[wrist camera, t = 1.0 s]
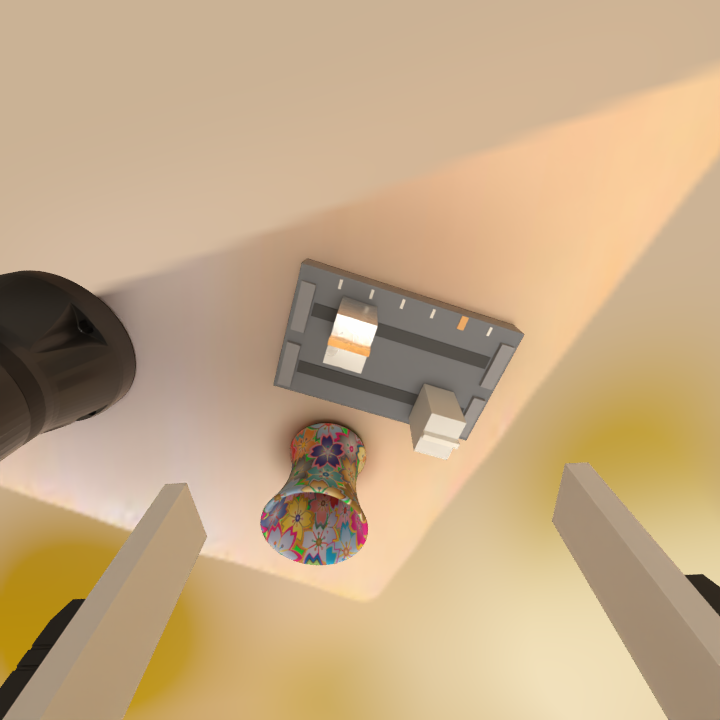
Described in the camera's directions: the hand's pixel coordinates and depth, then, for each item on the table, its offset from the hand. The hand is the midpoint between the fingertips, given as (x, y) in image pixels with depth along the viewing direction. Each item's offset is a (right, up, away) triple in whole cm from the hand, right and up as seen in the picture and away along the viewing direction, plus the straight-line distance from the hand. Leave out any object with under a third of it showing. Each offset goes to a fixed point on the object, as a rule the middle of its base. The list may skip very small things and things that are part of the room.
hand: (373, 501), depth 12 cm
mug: (-4, -6, +28) cm, 29 cm away
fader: (-1, +8, +17) cm, 19 cm away
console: (+3, +6, +22) cm, 22 cm away
